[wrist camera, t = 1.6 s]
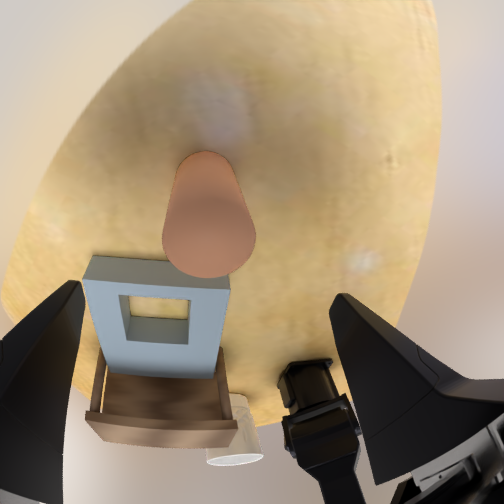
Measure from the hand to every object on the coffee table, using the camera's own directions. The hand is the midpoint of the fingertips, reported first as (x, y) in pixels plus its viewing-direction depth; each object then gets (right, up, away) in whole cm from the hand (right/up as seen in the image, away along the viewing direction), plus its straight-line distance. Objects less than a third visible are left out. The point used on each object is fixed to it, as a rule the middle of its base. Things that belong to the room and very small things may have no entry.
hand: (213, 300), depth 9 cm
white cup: (-3, -21, +28) cm, 35 cm away
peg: (-2, +6, +9) cm, 12 cm away
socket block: (-8, -4, +16) cm, 18 cm away
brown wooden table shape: (-9, -11, +20) cm, 24 cm away
